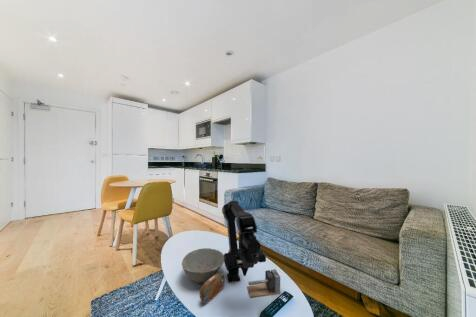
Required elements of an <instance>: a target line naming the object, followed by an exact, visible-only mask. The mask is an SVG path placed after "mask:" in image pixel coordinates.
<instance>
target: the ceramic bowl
mask: <svg viewBox="0 0 476 317" xmlns="http://www.w3.org/2000/svg"><path fill="white" fill-rule="evenodd" d="M224 264H225V263H224V253H223V252H221V251H220V250H218V249H215V248H209V247H208V248H206V247H205V248H198V249H195V250H192V251H190V252H188V253H187V254H186V255H185V256H184V257H183V258H182V260H181V267H182V269H183V271H184V273H185V274H186V276H187V277H188V278H189V279H190V280H191V281H193V282H195V283H197V284H202V283H205V282H206V281H207V280H209V279H210V278H211V277H212V276H214V275H215V274H216V273H219V271H220V269H221V268H222V266H223V265H224Z"/></svg>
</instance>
